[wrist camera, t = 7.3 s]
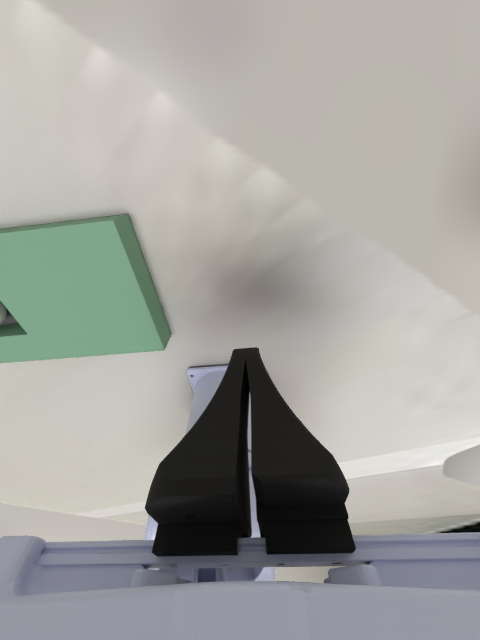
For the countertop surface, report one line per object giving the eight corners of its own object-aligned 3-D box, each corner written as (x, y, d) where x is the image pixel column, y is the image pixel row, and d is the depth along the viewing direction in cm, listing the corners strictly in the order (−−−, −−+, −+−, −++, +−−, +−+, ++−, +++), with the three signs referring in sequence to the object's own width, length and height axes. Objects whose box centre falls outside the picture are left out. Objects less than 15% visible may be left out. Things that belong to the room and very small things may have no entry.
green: (171, 334, 24) (164, 350, 22) (8, 348, 25) (-13, 364, 23) (128, 213, 17) (112, 220, 15) (-91, 240, 19) (-133, 249, 17)
